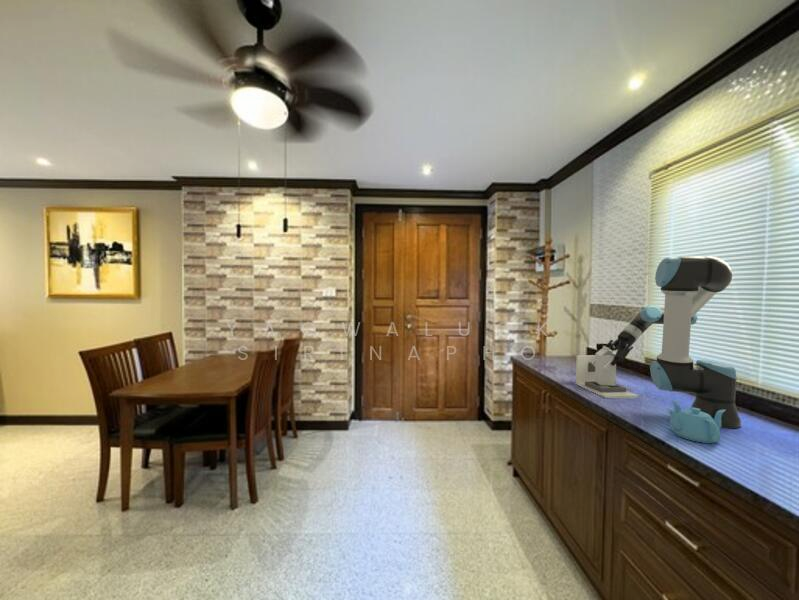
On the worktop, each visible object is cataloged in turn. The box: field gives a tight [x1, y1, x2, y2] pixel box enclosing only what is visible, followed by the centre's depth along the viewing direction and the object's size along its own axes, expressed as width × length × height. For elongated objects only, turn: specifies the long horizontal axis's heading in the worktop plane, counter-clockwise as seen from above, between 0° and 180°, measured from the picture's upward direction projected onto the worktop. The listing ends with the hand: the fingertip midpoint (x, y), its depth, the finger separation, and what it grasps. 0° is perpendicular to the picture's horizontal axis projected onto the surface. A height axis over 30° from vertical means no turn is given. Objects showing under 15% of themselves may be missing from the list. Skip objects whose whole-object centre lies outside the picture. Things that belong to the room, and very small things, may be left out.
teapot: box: [666, 400, 726, 444], centre depth 122 cm, size 15×15×10 cm
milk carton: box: [595, 346, 617, 386], centre depth 177 cm, size 7×7×19 cm
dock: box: [575, 354, 639, 399], centre depth 177 cm, size 24×16×16 cm, turn 6°
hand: (599, 367), depth 177 cm, fingers closed on milk carton, 9 cm apart
